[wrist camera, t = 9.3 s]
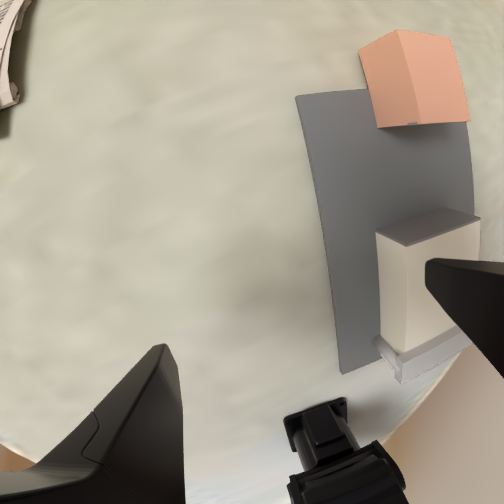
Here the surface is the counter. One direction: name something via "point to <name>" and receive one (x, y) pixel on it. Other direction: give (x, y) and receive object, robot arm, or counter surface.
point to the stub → (414, 80)
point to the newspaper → (3, 25)
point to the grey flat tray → (389, 228)
